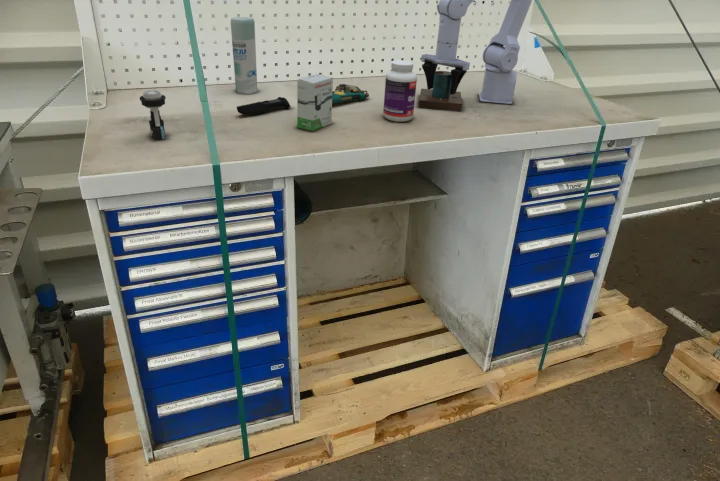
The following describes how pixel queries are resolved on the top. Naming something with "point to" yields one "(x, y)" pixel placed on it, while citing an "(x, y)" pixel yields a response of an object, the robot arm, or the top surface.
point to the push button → (154, 112)
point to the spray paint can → (244, 54)
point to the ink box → (314, 101)
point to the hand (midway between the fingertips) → (441, 91)
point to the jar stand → (440, 101)
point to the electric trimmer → (263, 106)
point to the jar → (441, 84)
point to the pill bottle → (400, 92)
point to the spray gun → (348, 94)
